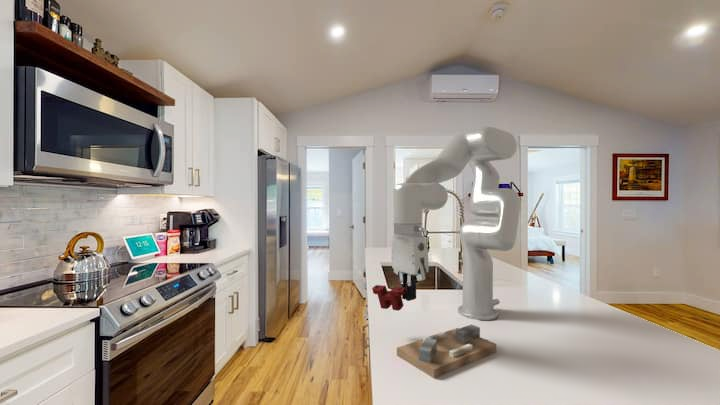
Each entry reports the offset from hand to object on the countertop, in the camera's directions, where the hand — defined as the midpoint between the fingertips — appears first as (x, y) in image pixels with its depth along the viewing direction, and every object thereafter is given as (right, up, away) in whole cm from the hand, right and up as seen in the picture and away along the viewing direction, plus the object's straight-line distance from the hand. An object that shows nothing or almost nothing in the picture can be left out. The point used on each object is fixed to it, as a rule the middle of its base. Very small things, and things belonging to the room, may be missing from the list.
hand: (409, 298), depth 84 cm
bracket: (-1, 0, -2) cm, 2 cm away
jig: (+8, -12, -7) cm, 16 cm away
